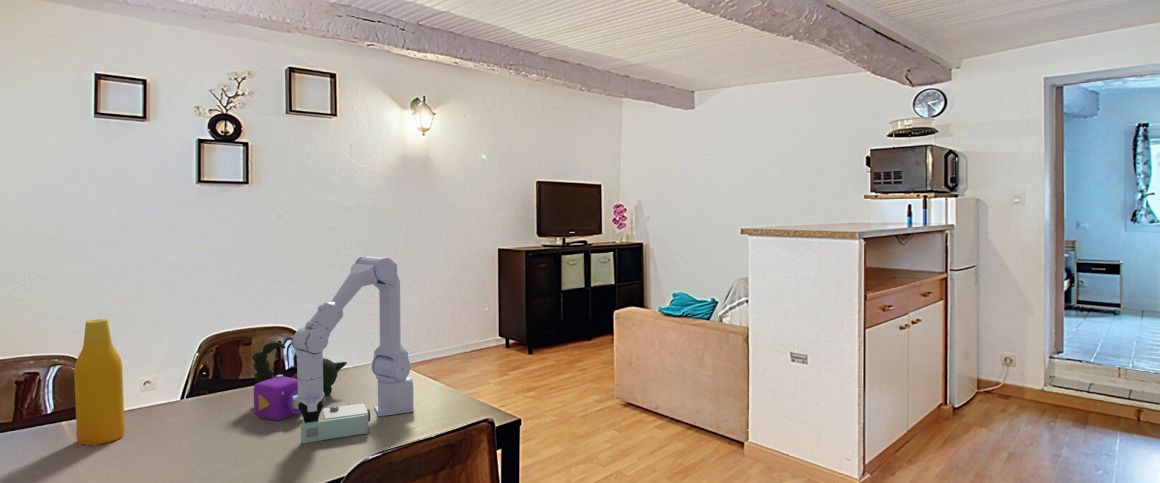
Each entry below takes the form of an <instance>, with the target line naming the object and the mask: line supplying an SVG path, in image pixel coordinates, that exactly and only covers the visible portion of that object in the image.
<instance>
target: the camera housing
mask: <svg viewBox="0 0 1160 483" xmlns="http://www.w3.org/2000/svg"><path fill="white" fill-rule="evenodd" d="M322 413H323V414H322V417H323V418H322V420H329V419H336V418H343V417H351V416H358V415H364V414H368V423H370V422H371V410H370V409H369V408H366V404H365V403H363V402H362V403H357V404H349V405H348V404H347V405H340V406H338V405H333V406H330V407H325V408H324V407H323V408H322Z"/></svg>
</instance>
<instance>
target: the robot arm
mask: <svg viewBox="0 0 1160 483" xmlns="http://www.w3.org/2000/svg"><path fill="white" fill-rule="evenodd" d="M369 285H374V287H376V289H378V290H379V292H378V295H379V346H378V347H377V348H376V349H374V352H373V354H374V355H373V359H372V362H371V371H372V373H373V374H374V375H375V379H376V380H377V405H375V406H374V409H375V412H376V413H377V415H378V417H385V416H391V415H393V416H394V415H399V414H400V415H401V414H407V413H412V412H415V410H414V404H415V403H414V381H413V378H412V377H410V376H409V374H410V373H411V368H412V366H411V362H410V359H409V352H408V351H407V350H406V349H405V347H404V346H403V345H402V343H401V341H402V340H401V338H402V337H401V281H400V277H399V274H398V264H397V263H396V262H395V261H393V259H392V258H389V257H377V256H368V255H362V256H359V257H358V258H357V259H356V260H355V262H354V263H353V264H352V265H351V266H350V273H349V274H348V276H347V277H346V278H345V280H344V282H343V283H342V285H341V286H340V287H339V289H338V290H337V292H336V294H335V295H334V297H332V298H331V300H330V301H327V302H323V303H322V304H320V305H318V307H317V308H316V309H317V310H316V312H315V313H314V315H313V316H312V317H311V318H310V319H309V321H307V322H306V323H305V326H304V327H302V328H299V329H298V330H297V331H296V332H295V333H294V335H293V337H292V339H291V340H290V344H291V347H292V348H293V349H294V351H295V356H296V364H297V365H296V368H297V369H296V370H297V378H298V395H294V396H293V400H298V401H300V403H298V408H299V410H300V412H301V413H300V414H301V415H302V418H303V423H307V422H314V421H319V418H320V415H321V412H322V411H323V409H324V400H323V398H324V397H325V395H324V392H323V358H324V356H323V352H324V350H325V349H326V348H327V346H328V344H329V338H330V336H331V333H332V332H333V330H334V329H335V327H336V326H337V325H338V323H339V322H340V321H341V320H342V318H343V317H344V310H343V309H344V308H346V306H347V305H348V304H349V303H350V302H351V300H353V298H354V297H355V296H356V295H357V293H358V292H359V291H360V290H361V289H362V288H363V287H365V286H369Z"/></svg>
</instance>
